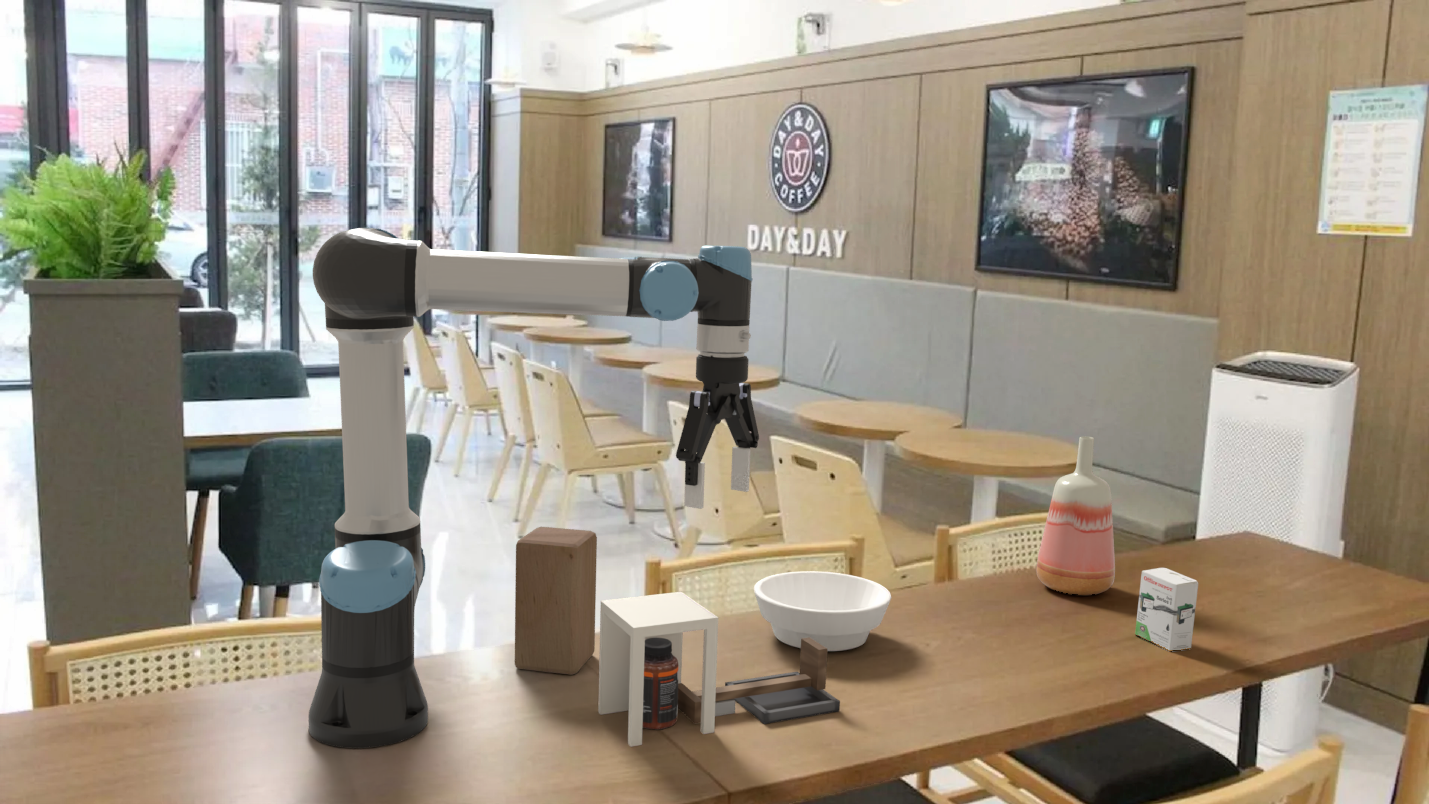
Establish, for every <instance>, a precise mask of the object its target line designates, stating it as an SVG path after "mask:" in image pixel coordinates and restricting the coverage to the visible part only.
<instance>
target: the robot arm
mask: <svg viewBox="0 0 1429 804" xmlns="http://www.w3.org/2000/svg"><path fill="white" fill-rule="evenodd" d="M752 274H753V273H752V253H751V251H750V250H749V249H748V248H747V247H745V246H738V245H737V246H735V245H734V246H733V245H706V244H705V245H702V246H701V247H700V249H699V253H698V255H697V258H687V259H686V258H684V259H683V258H672V257H671V258H670V257H669V258H668V257H665V258H664V257H648V256H647V257H644V256H643V257H642V256H634V257H632V256H631V257H628V256H627V257H620V258H615V257H614V258H613V257H595V256H594V257H592V256H575V255H574V256H571V255H554V254H551V255H550V254H538V253H537V254H533V253H514V252H513V253H512V252H497V251H496V252H495V251H494V252H493V251H474V250H473V251H472V250H456V249H431V248H430V247H428V246H427V244H426V243H425V242H424V241H423V240H414V239H413V240H412V239H403V238H399V237H398V236H396V235H395V234H393V233H391V232H389V231H387V230H384V229H381V228H374V227H368V226H366V227H358V228H357V227H356V228H353V229H346V230H344V231H340V232H338V233H337V234H334V235H332V236H330V237H329V238H328V239H327V240H326V241H325V242H324V243H323V244H322V245H321V247H320V248H319V250H318V251H317V252H316V256H315V258H314V261H313V266H312V279H313V280H312V281H313V285H314V287H315V291H316V292H317V295H318V296H319V298H320V300H322V302H323V304H324V315H325V317H324V318H325V329H326V331H327V332H329V334H331V335H332V336H333V337H334V338H336V340H337V345H338V364H339V366H338V368H339V369H338V370H339V389H340V390H339V391H340V412H341V413H340V415H341V416H340V417H341V436H342V437H341V439H342V462H343V485H344V487H343V489H344V510H345V511H344V513H343V514H342V515H341V516H340V517H339V518H338V519H337V520H336V521H335V523H334V543H335V544H334V545H335V546H334V548H335V549H333V550H331V551H330V552H329V553H328V554H327V555H326V556H325V557H324V559H323V561H322V563H321V567H320V570H321V572H320V575H319V577H318V578H319V579H318V584H319V586H318V587H319V590H320V606H321V607H320V612H321V617H320V619H321V624H320V625H321V674H320V676H319V679H318V683H317V685H316V690H315V692H314V695H313V698H312V701H311V704H310V708H309V711H308V732H309V735H310V736H311V737H312V738H313V739H314V740H315V741H318V742H319V743H322V744H326V745H328V746H333V747H339V748H348V749H364V748H366V749H367V748H377V747H383V746H388V745H393V744H397V743H399V742H403V741H405V740H408V739H410V738H412V737H414V736H416V735H417V734H419V733H421V732H422V731H423V730H424V729H425V728H426V727H427V724H428V722H429V706H428V705H429V704H428V700H427V698H426V695H425V692H424V689H423V687H422V683H421V681H420V678H419V675H418V673H417V669H416V665H415V608H416V602H417V598H418V595H419V591H420V588H421V586H422V583H423V581H424V577H425V575H426V558H425V554H424V549H423V548H422V536H421V535H422V532H421V518H420V516H419V515H417V514H416V513H415V512H414V511H413V510H412V509H411V508H410V506H409V505H410V503H409V501H410V500H409V478H408V477H409V475H408V445H407V421H406V420H407V417H406V416H407V415H406V391H405V389H406V388H405V384H406V383H405V359H404V340H405V338H406V336H407V335H408V334H409V333H410V332H411V331H412V330H413V329H414V328H415V326H414V325H415V322H414V320H415V318H414V317H417V318H418V317H419V318H420V317H421V316H423V315H424V314H425V313H426V312H427V311H430V310H444V311H445V310H446V311H447V310H449V311H452V310H453V311H469V312H470V311H471V312H472V311H475V312H476V311H477V312H478V311H479V312H499V313H501V312H502V313H527V314H529V313H530V314H555V315H579V316H581V315H582V316H602V317H603V316H606V317H608V316H609V317H630V318H646V319H647V318H648V319H656V320H659V321H663V322H667V321H668V322H671V321H672V322H673V321H677V320H680V319H682V318H685V317H686V316H687V315H688V314H690V313H693V312H696V313H697V326H696V328H697V329H696V350H697V351H698V352H699V354H698V355H697V356H696V357H695V358H696V361H695V378H696V379H697V381H700V382H702V384H703V387H702V391H699V390H691V391H690V392H689V402H688V403H689V405H688V409H687V412H686V416H685V420H684V424H683V427H682V431H681V435H680V437H679V441H678V444H677V445H678V446H677V449H676V453H675V456H676V459H677V460H678V461H679V462H684V464H685V467H684V469H685V471H684V498H683V499H684V503H683V505H684V507H688V508H693V509H700V510H701V509H704V505H705V503H704V502H705V501H704V500H705V499H704V497H705V475H706V474H705V473H706V471H705V469H706V467H705V465H706V462H704V461H702V459H703V458H704V455H705V452H706V450H707V448H708V446H709V443H710V441H711V438H712V436H713V434H714V431H715V429H716V426H717V425H719V424H720V423H721V421H723V420H725V422H726V425H727V427H728V430H729V432H730V435H731V436H732V439H733V440H734V443H735V445H736V446H733V447H732V449H731V452H732V453H731V474H730V475H731V477H730V479H731V480H730V490H732V491H736V492H745V493H747V492H749V491H750V473H751V472H750V471H751V448H752V449H757V448H758V445H759V444H758V442H759V439H760V435H759V430H758V425H757V420H756V417H755V412H754V411H755V409H754V406H753V402H752V386H751V384H750V383H748V382H747V381H748V379H749V360H750V359H749V357H748V356H747V355H745V354H747V353H748V352H749V348H750V345H749V344H750V339H751V338H752V337H751V333H750V317H751V302H752V301H751V299H752V297H751V296H752V283H753V276H752ZM746 382H747V383H746Z"/></svg>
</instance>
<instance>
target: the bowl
mask: <svg viewBox="0 0 1429 804" xmlns="http://www.w3.org/2000/svg"><path fill="white" fill-rule="evenodd" d="M753 592H754V595H755V600H756V603H757V606H758V609H759V613H760V614H761V617H762V618H763V619H764V620H765V621H767V622H768V623H769V624H770V625H771V628H772V631H773V632H772V633H773V635H774V636H775V638H776V639H778V640H779V641H780V642H781V643H784V644H786V645H788V646H791V647H795V648H799V649H801V638H808V637H810V638H811V639H813V640H815V641H816V642H818V643H819V644H821V645H822V646H824V647H826V648H827V652H840V651H847V650H852V649H855V648H858V647H860V646H862V645H863V644H865V643H866V642H867V639H868V637H869V634H870V632H871V630H873V629H876V628H878V627H879V626H880V625H881V624H882V621H883V619H884V616H885V614H886V612H887V609H888V607H889V604H890V603H891V600H892V595H891V592H890V590H888V589H887V588H886V587H885V586H883V585H882V584H880V583H878V582H876V581H874V580H871V579H867V578H864V577H861V576H856V575H852V574H847V573H839V572H832V571H817V570H814V571H813V570H812V571H810V570H808V571H807V570H805V571H800V570H799V571H789V572H781V573H777V574H772V575H768V576H766V577H763V578H762V579H760V580H758V581H756V583H755V584H754V586H753Z"/></svg>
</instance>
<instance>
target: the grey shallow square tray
mask: <svg viewBox="0 0 1429 804" xmlns="http://www.w3.org/2000/svg"><path fill="white" fill-rule="evenodd" d="M799 674H800V671H792V672H785V673H779V674H772V675H771V674H770V675H766V676H764V675H763V676H759V677H753V678H744V679H739V680H733V681H726V682H724V686H730V685H736V684H743V683H749V682H756V681H763V680H769V679H776V678H782V677H789V676H795V675H799ZM734 700H735V703H738V705H740V706H741V707H742V708H744V709H745V710H746V711H747V712H748V713H750V714H751V715H753V717H755V718H756V719H757V721H760V723H762V724H763V725H769V724H771V723H772V724H773V723H778V722H785V721H791V720H797V719H802V718H807V717H808V718H809V717H812V716H814V717H815V716H819V715H826V714H832V713H838V712H840V709H841V701H840V700H839V699H838V698H836V697H835V696H833V695H832V694H831V693H829V692H828V691H827V690H826V689H822V690H816V689H814V688H813V687H811V686H810V687H804V688H798V689H791V690H785V691H779V692H772V693H766V694H760V695H754V696H747V697H741V698H735V699H734Z"/></svg>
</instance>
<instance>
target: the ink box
mask: <svg viewBox="0 0 1429 804" xmlns="http://www.w3.org/2000/svg"><path fill="white" fill-rule="evenodd" d="M1139 584H1140V585H1139V596H1138V604H1137V612H1136V613H1137V614H1136V623H1135V631H1134V635H1135V634H1136V635H1139V636H1141V637H1143V638H1145V639H1147V640H1149V641H1153V642H1154V643H1156V644H1159V645H1160V646H1162V647H1165V648H1166V649H1168V650H1181V649H1185V648H1186V649H1187V648H1191V649H1192V642H1193V633H1194V624H1195V615H1196V608H1197V607H1196V606H1197V601H1198V600H1197V599H1198V589H1199V582H1198V580H1196V579H1194V578H1192V577H1189V576H1186V575H1184V574H1182V573H1179V572H1177V571H1174V570H1172V569H1169V568H1166V567H1158V568H1151V569H1145V570H1142V571H1141V575H1140V583H1139ZM1181 651H1182V650H1181Z"/></svg>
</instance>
